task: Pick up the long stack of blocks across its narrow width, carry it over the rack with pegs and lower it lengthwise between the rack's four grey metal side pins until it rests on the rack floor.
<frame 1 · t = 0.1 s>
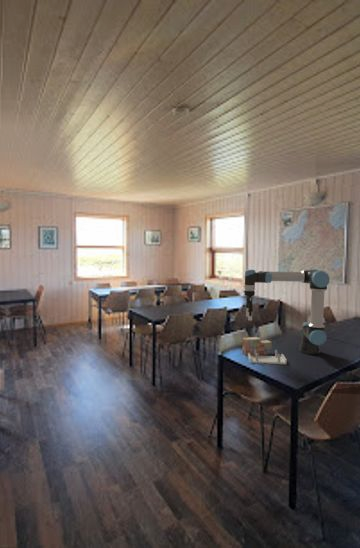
hand: (248, 318, 242), 28 cm above the table, fingers open, 13 cm apart
stack of blocks: (256, 354, 247), on the table
rack with pegs: (266, 360, 231), on the table
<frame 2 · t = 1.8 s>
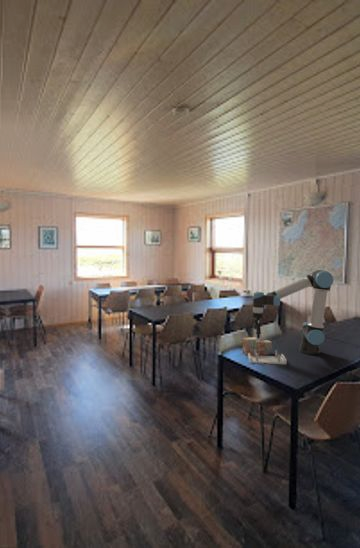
hand: (256, 339, 246), 11 cm above the table, fingers open, 13 cm apart
nothing on the table moved.
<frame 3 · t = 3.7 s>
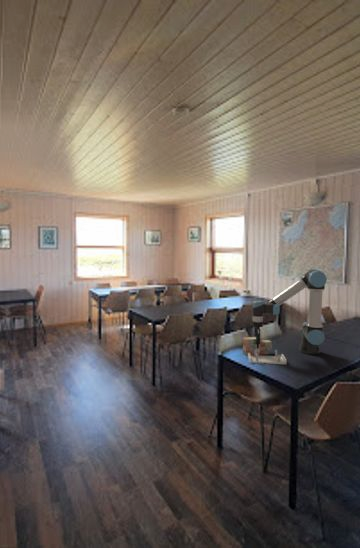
hand: (256, 350, 247), 2 cm above the table, fingers closed on stack of blocks, 7 cm apart
stack of blocks: (257, 353, 247), on the table, touching gripper
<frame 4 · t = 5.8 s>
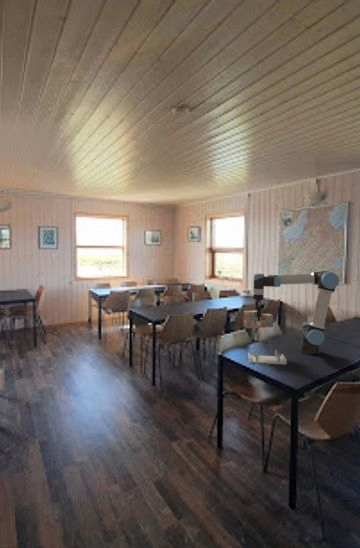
hand: (257, 324, 245), 23 cm above the table, fingers closed on stack of blocks, 7 cm apart
stack of blocks: (258, 327, 245), point 21 cm above the table, touching gripper
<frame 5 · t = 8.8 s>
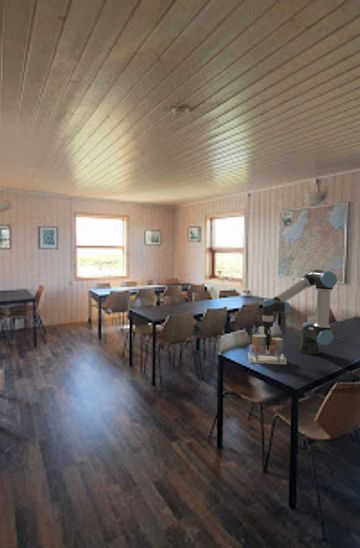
hand: (266, 352, 231), 6 cm above the table, fingers closed on stack of blocks, 7 cm apart
stack of blocks: (267, 352, 231), point 6 cm above the table, touching gripper, rack with pegs
when the fingers open (5 cm above the table, at t = 9.8 s): stack of blocks stays where it is, resting on rack with pegs.
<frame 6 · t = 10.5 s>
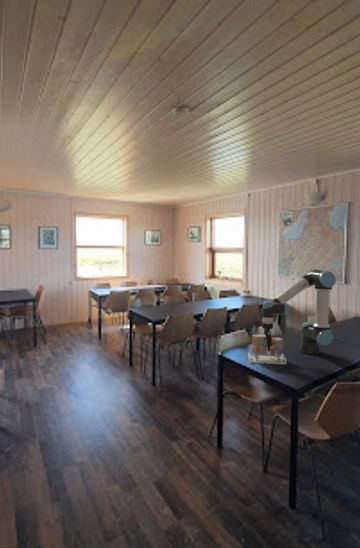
hand: (266, 352, 231), 6 cm above the table, fingers open, 13 cm apart
stack of blocks: (267, 352, 231), point 6 cm above the table, touching rack with pegs
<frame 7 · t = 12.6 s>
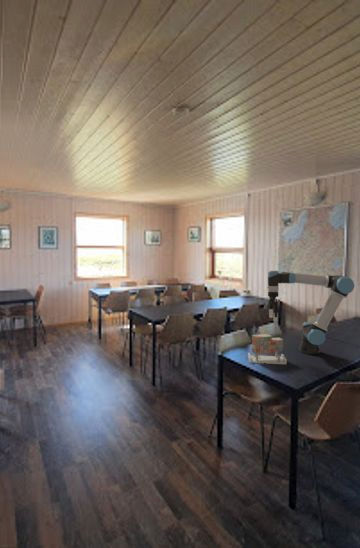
hand: (273, 319, 242), 27 cm above the table, fingers open, 13 cm apart
nothing on the table moved.
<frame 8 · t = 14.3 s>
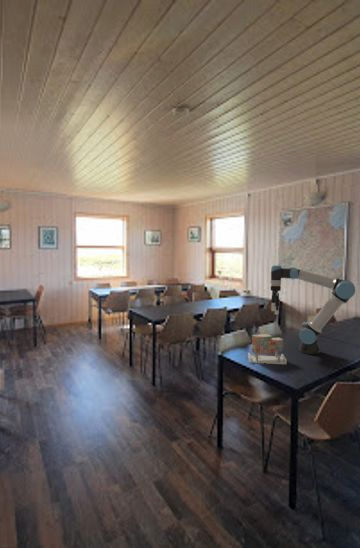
hand: (274, 312, 250), 31 cm above the table, fingers open, 13 cm apart
nothing on the table moved.
at the end: stack of blocks 0.4 cm from the rack with pegs (horizontally); stack of blocks point 6.0 cm above the table; stack of blocks tilted 0° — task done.
